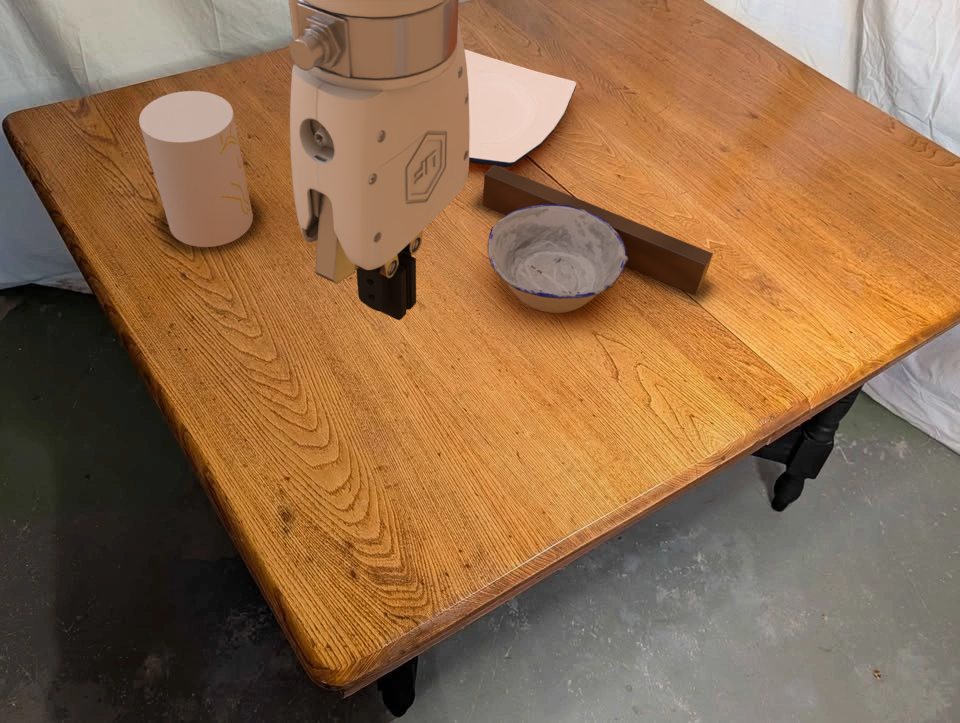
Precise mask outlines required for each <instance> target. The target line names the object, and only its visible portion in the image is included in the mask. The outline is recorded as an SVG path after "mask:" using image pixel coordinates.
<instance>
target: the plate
mask: <svg viewBox="0 0 960 723" xmlns="http://www.w3.org/2000/svg"><path fill="white" fill-rule="evenodd" d="M464 50H465V57H466V64H467V74H468V89H469V119H470V146H469V163H472V164H479V165H485V166H491V167H492V166H493V165H496V166H499V167H501V168H504V169H506V168H511V167H513V166H515V165H516V164H517V163H519V162H521V161H522V160H523V159H524V158H526V157H527V156H529V155H530V154H531V153H532V152H534V151H536V150H537V149H539V148H540V147H541V146H542V145H543V144H544V143H545V141H547V139H548V138H549V137H550V136H551V135H552V134H553V133H554V131H555V129H557V127H558V125H560V122H561V121H562V119H563V118H564V116H565V114H566V112H567V109H568V107H569V105H570V102H571V100H572V97H573V96H574V94H575V90H576V88H577V82H576V81H575V80H571V79H567V78H563V77H559V76H556V75H552V74H548V73H544V72H540V71H538V70H537V71H536V70H533V69H530V68H527V67H523V66H520V65H517V64H513V63H510V62H506V61H503V60H500V59H497V58H494V57H491V56H487V55H483V54H481V53H478V52H475V51H472V50H469V49H466V48H464Z"/></svg>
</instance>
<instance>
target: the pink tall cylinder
mask: <svg viewBox="0 0 960 723" xmlns="http://www.w3.org/2000/svg"><path fill="white" fill-rule="evenodd" d="M138 123H139V127H140V131H141V133H142V134H141V135H142V137H143V141H144V144H145V148H146V151H147V155H148V158H149V162H150V165H151V168H152V172H153V176H154V179H155V183H156V185H157V189H158V193H159V196H160V200H161V204H162V207H163V211H164V213H165V217H166V220H167V225H168V228H169V231H170V233H171V234H172V236H173V237H174V238H175V239H176V240H178V241H179V242H181V243H183V244H185V245H188V246H192V247H197V248H213V247H218V246H223V245H226V244H230V243H232V242H234V241H236V240H238V239H240V238H241V237H242V236H243V235H245V234H246V232H248V230H249V229H250V228H251V225H252V223H253V219H254V215H253V210H252V209H253V208H252V204H251V199H250V194H249V189H248V185H247V179H246V173H245V167H244V163H243V162H244V161H243V157H242V152H241V146H240V140H239V136H238V131H237V126H236V120H235V115H234V109H233V107H232V105H231V103H229V101H227V99H225V98H224V97H222V96H220V95H217V94H214V93H211V92H207V91H203V90H202V91H201V90H186V91H185V90H184V91H177V92H171V93H168V94H166V95H162V96H160V97H157V98H156V99H153V100H152V101H151V102H149V103H148V104H147V105H146V106H145V107H144V108H143V109H142V111H141V112H140V114H139V117H138Z"/></svg>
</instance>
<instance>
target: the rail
mask: <svg viewBox="0 0 960 723" xmlns="http://www.w3.org/2000/svg"><path fill="white" fill-rule="evenodd" d="M482 193H483V194H482V206H483V207H486V208H488V209H491V210H493V211H496V212H497V213H499V214H502V215H504V216H506V215H508V214H509V213H510V212H513V211H514V210H518V209H521V208H526V207H531V206H536V205H542V204H545V205H550V204H557V205H569V206H572V207H575V208H578V209H583V210H585V211H587V212H590V213H593V214H594V215H596V216H599V217H600V218H602V219H604V220H605V221H607V222H608V223H609V224H610V225H611V226H612V227H613V228H614V230H615V231H616V232H617V233H618V234H619V235H620V237H621V239H622V240H623V242H624V246H625V248H626V256H627V257H628V261H627V262H626V264H625V267H627V268H630V269H631V270H633V271H637V272H639V273H641V274H643V275H646V276H648V277H650V278H653V279H655V280H658V281H660V282H663V283H664V284H667V285H670V286H671V287H674V288H677V289H679V290H681V291H684V292H686V293H688V294H691V295H693V296H697V294H698V293H699V291H700V289H701V287H702V286H703V284H704V281H705V279H706V275H707V273H708V270H709V267H710V264H711V261H712V258H713V255H714V253H713V252H710V251H708V250H706V249H703V248H701V247H698V246H696V245H694V244H691V243H689V242H687V241H683V240H681V239H679V238H676V237H674V236H671V235H669V234H666V233H664V232H661V231H659V230H656V229H654V228H651V227H649V226H647V225H644V224H642V223H639V222H637V221H634V220H632V219H629V218H627V217H625V216H622V215H620V214H617V213H614V212H612V211H610V210H607V209H605V208H603V207H599V206H597V205H595V204H592V203H590V202H587V201H585V200H583V199H580V198H577V197H575V196H573V195H570V194H568V193H566V192H563V191H560V190H558V189H555V188H553V187H550V186H548V185H545V184H543V183H541V182H538V181H535V180H533V179H531V178H529V177H525V176H523V175H520V174H518V173H516V172H513V171H511V170H508V169H506V168H505V167H499V166H496V165H493V166H492V165H491V167H490V168H489V169H488V170H487V171H486V172H485V173H484V176H483V192H482Z"/></svg>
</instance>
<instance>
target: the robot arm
mask: <svg viewBox="0 0 960 723" xmlns="http://www.w3.org/2000/svg"><path fill="white" fill-rule="evenodd" d="M288 8H289V16H290V24H291V32H292V40H291V41H290V42H289V45H288V53H289V55H290V59H291V60H292V62H293V63H294V64H293V65H292V68H291V81H290V82H291V83H290V99H289V100H290V102H289V145H290V147H289V148H290V165H291V180H292V190H293V199H294V205H295V206H294V207H295V212H296V218H297V223H298V226H299V229H300V232H301V235H302V237H303V239H304V240H305V241H306V242H308V243H313V242H316V253H315V254H316V255H315V265H314V266H315V268H314V271H315V272H314V273H315V275H317V276H319V277H321V278H323V279H325V280H327V281H329V282H331V283H333V284H335V285H337V284H339V283H341V282H342V281H344V280H345V279H347V278H349V277H351V276H352V275H353V274H356V281H357V282H356V284H357V294H358V300H359V301H360V302H361V303H362V304H364V305H366V306H367V307H368V308H370V309H371V310H374V311H375V312H380V313H382V314H384V315H387V316H388V317H390V318H392V319H394V320H397V321H401V320H402V319H403V318H404V317H405V316H406V315H407V310H408V311H410V310H411V309H412V308H414V306H415V305H416V304H417V257H414V256H413V255H416V254H417V253H418V252H419V250H420V248H421V246H422V244H423V243H422V242H423V234H424V229H426V228H427V227H428V226H429V225H430V224H431V223H432V222H433V221H434V220H435V219H436V218H437V217H438V216H439V215H440V214H441V213H442V212H443V211H444V210H445V209H446V208H447V207H448V206H449V205H450V204H451V203H452V202H453V201H454V200H455V199H456V197H457V196H459V194H460V193H461V192H462V190H463V189H464V187H465V185H466V183H467V181H468V178H469V171H470V170H469V169H470V162H469V146H470V119H469V89H468V74H467V64H466V57H465V50H464V49H465V44H464V39H463V35H462V30H461V27H460V25H459V0H288Z"/></svg>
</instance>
